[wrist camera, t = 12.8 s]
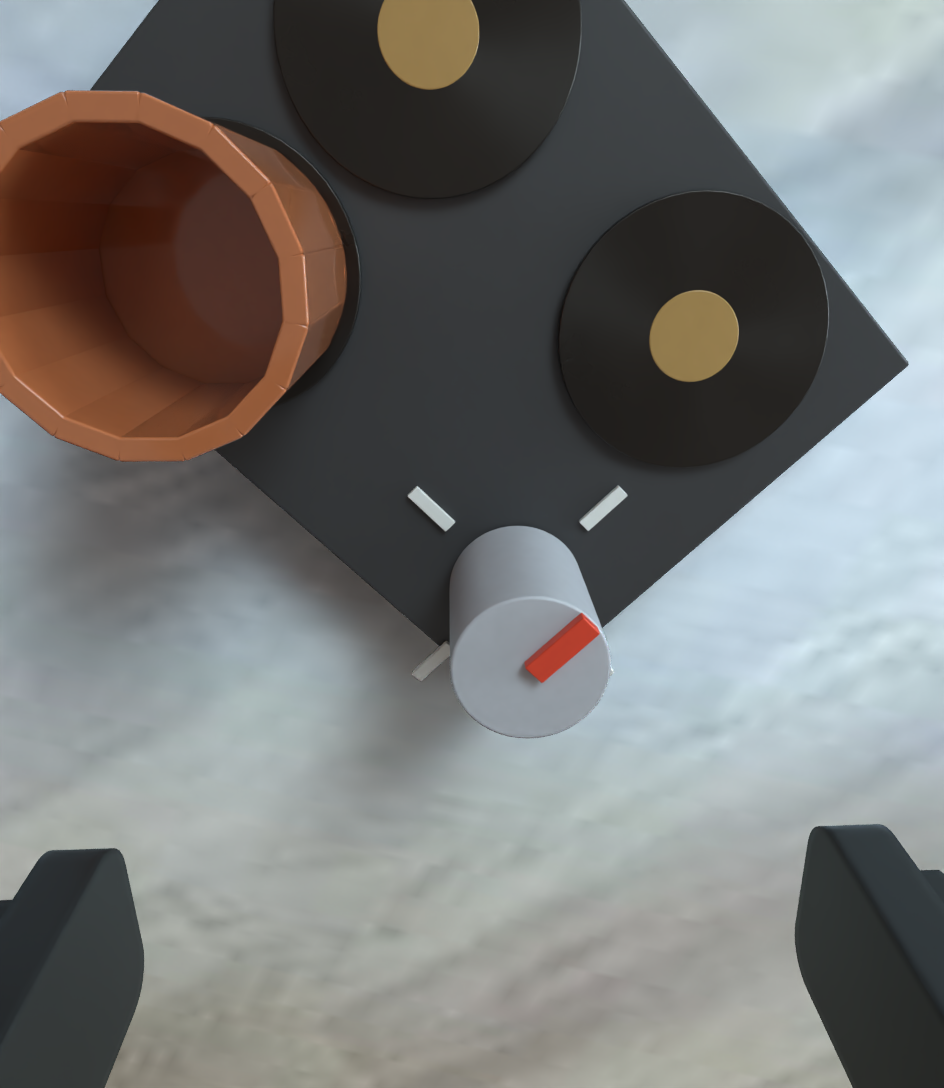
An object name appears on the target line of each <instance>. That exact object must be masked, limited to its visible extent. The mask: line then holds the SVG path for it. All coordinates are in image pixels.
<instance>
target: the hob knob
mask: <svg viewBox="0 0 944 1088" xmlns="http://www.w3.org/2000/svg"><path fill="white" fill-rule="evenodd" d="M449 597H450V678H451V683H452V687H453V690H454V693H455V695H456V697H457V699H458V701H459V703H460V704H461V706H462V707H463V708H464V710H465V711H466V712H467V713H468V714H469V715H470V716H471V717H472V718H473V719H474V720H475V721H477V722H478V723H480V724H481V725H482V726H484V727H486V728H488V729H489V730H492V731H494V732H496V733H499V734H502V735H506V736H510V737H516V738H539V737H545V736H550V735H553V734H556V733H559V732H562V731H564V730H566V729H568V728H570V727H572V726H574V725H575V724H577V723H578V722H580V721H581V720H582V719H584V718H585V717H586V716H587V715H588V714H589V713H590V712H591V711H592V710H593V709H594V708H595V706H596V705H597V704H598V702H599V701H600V699H601V698H602V696H603V694H604V692H605V690H606V688H607V685H608V681H609V678H610V672H611V656H610V649H609V646H608V643H607V640H606V637H605V635H604V632H603V629H602V627H601V624H600V622H599V619H598V616H597V614H596V611H595V608H594V606H593V603H592V601H591V598H590V595H589V593H588V590H587V587H586V585H585V582H584V580H583V577H582V574H581V572H580V569H579V566H578V564H577V562H576V560H575V558H574V556H573V554H572V553H571V551H570V550H569V549H568V548H567V547H566V546H565V544H564V543H562V542H561V541H560V540H559V539H558V538H556V537H554V536H553V535H551V534H549V533H547V532H545V531H543V530H540V529H537V528H533V527H527V526H507V527H502V528H498V529H495V530H492V531H489V532H487V533H485V534H483V535H481V536H480V537H478V538H477V539H475V540H474V541H473V542H472V543H470V544H469V545H468V546H467V547H466V548H465V549H464V550H463V552H462V553H461V555H460V556H459V557H458V559H457V561H456V563H455V565H454V567H453V570H452V573H451V578H450V588H449Z"/></svg>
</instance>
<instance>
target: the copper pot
mask: <svg viewBox="0 0 944 1088" xmlns="http://www.w3.org/2000/svg"><path fill="white" fill-rule="evenodd" d="M346 282H347V270H346V261H345V253H344V249H343V245H342V240H341V236H340V234H339V231H338V228H337V225H336V223H335V220H334V218H333V216H332V214H331V212H330V210H329V208H328V206H327V204H326V203H325V201H324V200H323V198H322V197H321V195H320V194H319V192H318V191H317V189H316V188H315V187H314V185H313V184H312V183H311V182H310V181H309V180H308V178H307V177H306V176H305V175H304V174H303V173H302V172H301V171H300V170H299V169H298V168H297V167H295V166H294V165H293V164H292V163H291V162H290V161H289V160H287V159H286V158H285V157H284V156H283V155H282V154H281V153H279V152H278V151H277V150H275V149H273V148H270V147H268V146H266V145H264V144H262V143H259V142H257V141H255V140H253V139H250V138H248V137H246V136H244V135H241V134H239V133H237V132H235V131H232V130H230V129H228V128H226V127H223V126H221V125H219V124H216V123H214V122H212V121H209V120H207V119H205V118H202V117H200V116H198V115H195V114H193V113H191V112H188V111H186V110H184V109H181V108H179V107H177V106H174V105H172V104H170V103H167V102H165V101H163V100H160V99H158V98H156V97H153V96H151V95H149V94H146V93H141V92H138V91H86V90H67V91H65V92H59V93H57V94H55V95H53V96H51V97H49V98H47V99H45V100H43V101H41V102H39V103H36V104H34V105H32V106H30V107H28V108H26V109H24V110H22V111H20V112H18V113H16V114H14V115H12V116H10V117H8V118H6V119H4V120H1V121H0V393H1V394H2V395H3V396H4V397H5V398H7V399H8V400H9V401H10V402H11V403H13V404H14V405H15V406H16V407H18V408H19V409H20V410H21V411H22V412H24V413H25V414H26V415H27V416H28V417H30V418H31V419H32V420H33V421H35V422H36V423H37V424H38V425H39V426H41V427H42V428H43V429H44V430H45V431H47V432H48V433H49V434H50V435H52V436H55V438H57V439H60V440H63V441H65V442H68V443H71V444H73V445H76V446H79V447H81V448H84V449H87V450H90V451H92V452H95V453H98V454H100V455H103V456H106V457H108V458H111V459H114V460H116V461H119V460H120V461H122V462H183V461H185V460H190V459H193V458H195V457H198V456H200V455H202V454H205V453H207V452H209V451H212V450H214V449H217V448H219V447H221V446H224V445H226V444H228V443H231V442H233V441H236V440H238V439H240V438H242V437H243V436H244V435H246V434H247V433H248V432H249V431H250V430H251V429H252V428H253V427H254V426H255V425H256V424H257V423H258V422H259V421H260V420H261V419H262V418H263V417H264V415H265V414H266V413H267V412H268V411H269V410H270V409H271V408H272V407H273V406H274V405H275V404H276V403H277V402H278V401H279V400H280V399H281V398H282V397H283V396H284V394H285V393H286V392H287V391H288V390H289V389H290V388H291V387H292V386H293V385H294V384H295V383H296V382H297V381H298V380H299V379H300V378H301V377H302V375H303V374H304V373H305V372H306V371H307V370H308V369H309V368H310V367H311V366H312V365H313V364H314V363H315V361H316V360H317V359H318V358H319V357H320V356H321V355H322V354H323V353H324V352H325V351H326V350H327V348H328V346H329V345H330V342H331V339H332V337H333V335H334V333H335V331H336V328H337V326H338V324H339V321H340V318H341V314H342V311H343V307H344V302H345V295H346Z"/></svg>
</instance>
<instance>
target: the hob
mask: <svg viewBox="0 0 944 1088" xmlns="http://www.w3.org/2000/svg"><path fill="white" fill-rule="evenodd" d="M580 3H581V11H582V38H581V47H580V57H579V62H578V66H577V71H576V76H575V80H574V83H573V86H572V89H571V91H570V94H569V97H568V100H567V102H566V104H565V106H564V109H563V111H562V113H561V115H560V117H559V119H558V121H557V122H556V124H555V125H554V127H553V129H552V130H551V132H550V133H549V135H548V136H547V138H546V139H545V140H544V141H543V143H542V144H541V145H540V146H539V147H538V149H537V150H536V151H535V152H534V153H533V154H532V155H531V156H530V157H529V158H528V159H527V160H526V161H525V162H524V163H523V164H522V165H521V166H520V167H518V168H517V169H516V170H514V171H513V172H511V173H510V174H509V175H507V176H506V177H504V178H503V179H501V180H499V181H497V182H496V183H494V184H492V185H490V186H488V187H486V188H484V189H481V190H478V191H475V192H473V193H470V194H467V195H462V196H457V197H452V198H443V199H420V198H410V197H406V196H401V195H397V194H393V193H390V192H387V191H384V190H382V189H379V188H376V187H374V186H372V185H370V184H368V183H367V182H365V181H363V180H361V179H359V178H357V177H356V176H354V175H353V174H352V173H350V172H349V171H347V170H346V169H345V168H343V167H342V166H340V165H339V164H338V163H337V162H336V161H335V160H334V159H333V158H332V157H331V156H330V155H328V154H327V153H326V152H325V151H324V149H323V148H322V147H321V146H320V145H319V144H318V142H317V141H316V140H315V139H314V138H313V136H312V135H311V134H310V132H309V131H308V129H307V128H306V126H305V125H304V123H303V122H302V120H301V119H300V117H299V115H298V113H297V111H296V109H295V107H294V105H293V103H292V101H291V99H290V97H289V94H288V91H287V89H286V86H285V83H284V81H283V78H282V75H281V70H280V66H279V62H278V58H277V54H276V46H275V38H274V24H273V6H274V0H159V1H158V2H157V3H156V5H155V6H154V7H153V8H152V10H151V11H150V12H149V14H148V15H147V16H146V18H145V19H144V20H143V22H142V23H141V24H140V25H139V27H138V28H137V29H136V31H135V32H134V33H133V35H132V36H131V37H130V39H129V40H128V41H127V42H126V44H125V45H124V46H123V48H122V49H121V50H120V52H119V53H118V54H117V56H116V57H115V58H114V59H113V61H112V62H111V63H110V65H109V66H108V67H107V69H106V70H105V71H104V73H103V74H102V75H101V76H100V78H99V79H98V80H97V82H96V83H95V84H94V86H93V87H92V88H91V90H90V91H138V92H141V93H146V94H149V95H151V96H153V97H156V98H158V99H160V100H163V101H165V102H167V103H170V104H172V105H174V106H177V107H179V108H181V109H184V110H186V111H188V112H191V113H193V114H195V115H198V116H200V117H217V118H226V119H230V120H235V121H239V122H244V123H246V124H249V125H252V126H254V127H257V128H260V129H262V130H264V131H266V132H268V133H270V134H272V135H274V136H276V137H278V138H280V139H281V140H283V141H285V142H286V143H287V144H289V145H290V146H292V147H293V148H295V149H296V150H297V151H299V152H300V153H301V154H302V155H303V156H304V157H306V158H307V159H308V160H309V161H310V162H311V163H312V164H313V165H314V166H315V167H316V168H317V169H318V170H319V171H320V173H321V174H322V175H323V176H324V177H325V178H326V180H327V181H328V182H329V183H330V185H331V186H332V188H333V189H334V191H335V192H336V194H337V196H338V197H339V199H340V200H341V202H342V204H343V206H344V208H345V210H346V212H347V214H348V216H349V219H350V222H351V224H352V227H353V230H354V233H355V235H356V240H357V244H358V248H359V253H360V260H361V270H362V292H361V299H360V306H359V312H358V315H357V319H356V322H355V326H354V329H353V331H352V334H351V336H350V338H349V340H348V343H347V345H346V347H345V348H344V350H343V351H342V353H341V355H340V356H339V358H338V360H337V361H336V362H335V363H334V365H333V366H332V367H331V368H330V369H329V371H328V372H327V373H326V374H325V375H324V376H323V377H322V378H321V379H320V380H319V381H318V382H317V383H316V384H315V385H313V386H312V387H311V388H309V389H308V390H306V391H305V392H304V393H302V394H301V395H299V396H297V397H295V398H293V399H292V400H290V401H288V402H286V403H284V404H281V405H278V406H275V407H272V408H271V409H270V410H269V411H268V412H267V413H266V414H265V415H264V417H263V418H262V419H261V420H260V421H259V422H258V423H257V424H256V425H255V426H254V427H253V428H252V429H251V430H250V431H249V432H248V433H247V434H246V435H244V436H243V437H242V438H240V439H238V440H236V441H233V442H231V443H228V444H226V445H224V446H221V447H219V448H217V449H215V450H216V451H217V452H218V453H219V454H220V455H221V456H223V457H224V458H225V459H226V460H227V461H228V462H229V463H231V464H232V465H233V466H234V467H235V468H236V469H237V470H239V471H240V472H241V473H242V474H243V475H244V476H245V477H247V478H248V479H249V480H250V481H251V482H252V483H253V484H255V485H256V486H257V487H258V488H259V489H260V490H261V491H263V492H264V493H265V494H266V495H267V496H268V497H269V498H271V499H272V500H273V501H274V502H275V503H276V504H277V505H279V506H280V507H281V508H282V509H283V510H284V511H286V512H287V513H288V514H289V515H290V516H291V517H292V518H294V519H295V520H296V521H297V522H298V523H299V524H300V525H302V526H303V527H304V528H305V529H306V530H307V531H308V532H310V533H311V534H312V535H313V536H314V537H315V538H316V539H318V540H319V541H320V542H321V543H322V544H323V545H324V546H326V547H327V548H328V549H329V550H330V551H331V552H332V553H334V554H335V555H336V556H337V557H338V558H339V559H340V560H342V561H343V562H344V563H345V564H346V565H347V566H348V567H350V568H351V569H352V570H353V571H354V572H355V573H356V574H358V575H359V576H360V577H361V578H362V579H363V580H364V581H366V582H367V583H368V584H369V585H370V586H371V587H372V588H374V589H375V590H376V591H377V592H378V593H379V594H380V595H382V596H383V597H384V598H385V599H386V600H387V601H388V602H390V603H391V604H392V605H393V606H394V607H395V608H396V609H398V610H399V611H400V612H401V613H402V614H403V615H404V616H406V617H407V618H408V619H409V620H410V621H411V622H413V623H414V624H415V625H416V626H417V627H418V628H419V629H421V630H422V631H423V632H424V633H425V634H426V635H427V636H429V637H430V638H431V639H432V640H433V641H434V642H435V643H437V644H438V645H439V646H440V647H438V648H437V649H436V650H435V651H434V652H433V653H432V654H431V655H430V656H429V657H427V658H426V659H425V660H424V661H423V662H422V663H421V664H420V665H419V666H418V667H416V668H415V669H414V670H413V671H412V675H413V676H414V677H416V678H417V679H418V680H419V681H420V682H421V681H422V680H423V679H424V678H425V677H426V676H428V675H429V674H430V673H431V672H432V671H433V670H434V669H435V668H436V667H438V666H439V665H440V664H441V663H442V662H443V661H444V660H445V659H447V658H448V657H449V656H450V597H449V588H450V578H451V573H452V570H453V567H454V565H455V563H456V561H457V559H458V557H459V556H460V555H461V553H462V552H463V550H464V549H465V548H466V547H467V546H468V545H469V544H470V543H472V542H473V541H474V540H475V539H477V538H478V537H480V536H481V535H483V534H485V533H487V532H489V531H492V530H495V529H498V528H502V527H507V526H527V527H533V528H537V529H540V530H543V531H545V532H547V533H549V534H551V535H553V536H554V537H556V538H558V539H559V540H560V541H561V542H562V543H564V544H565V546H566V547H567V548H568V549H569V550H570V551H571V553H572V554H573V556H574V558H575V560H576V562H577V564H578V566H579V569H580V572H581V574H582V577H583V580H584V582H585V585H586V587H587V590H588V593H589V595H590V598H591V601H592V603H593V606H594V608H595V611H596V614H597V616H598V619H599V622H600V624H601V627H602V628H603V627H604V626H605V625H606V624H607V623H608V622H610V621H611V620H612V619H613V618H614V617H615V616H617V615H618V614H619V613H620V612H621V611H622V610H624V609H625V608H626V607H627V606H628V605H629V604H631V603H632V602H633V601H634V600H635V599H636V598H638V597H639V596H640V595H641V594H642V593H643V592H645V591H646V590H647V589H648V588H649V587H650V586H652V585H653V584H654V583H655V582H656V581H657V580H659V579H660V578H661V577H662V576H663V575H664V574H666V573H667V572H668V571H669V570H670V569H671V568H673V567H674V566H675V565H676V564H677V563H678V562H680V561H681V560H682V559H683V558H684V557H685V556H687V555H688V554H689V553H690V552H691V551H692V550H694V549H695V548H696V547H697V546H698V545H699V544H701V543H702V542H703V541H704V540H705V539H706V538H708V537H709V536H710V535H711V534H712V533H713V532H715V531H716V530H717V529H718V528H719V527H720V526H722V525H723V524H724V523H725V522H726V521H727V520H729V519H730V518H731V517H732V516H733V515H734V514H736V513H737V512H738V511H739V510H740V509H741V508H743V507H744V506H745V505H746V504H747V503H748V502H750V501H751V500H752V499H753V498H754V497H755V496H757V495H758V494H759V493H760V492H761V491H762V490H764V489H765V488H766V487H767V486H768V485H769V484H771V483H772V482H773V481H774V480H775V479H776V478H778V477H779V476H780V475H781V474H782V473H783V472H785V471H786V470H787V469H788V468H789V467H790V466H792V465H793V464H794V463H795V462H796V461H797V460H799V459H800V458H801V457H802V456H803V455H804V454H806V453H807V452H808V451H809V450H810V449H811V448H813V447H814V446H815V445H816V444H817V443H818V442H820V441H821V440H822V439H823V438H824V437H825V436H827V435H828V434H829V433H830V432H831V431H832V430H834V429H835V428H836V427H837V426H838V425H839V424H841V423H842V422H843V421H844V420H845V419H846V418H848V417H849V416H850V415H851V414H852V413H853V412H855V411H856V410H857V409H858V408H859V407H860V406H862V405H863V404H864V403H865V402H866V401H867V400H869V399H870V398H871V397H872V396H873V395H874V394H876V393H877V392H878V391H879V390H880V389H881V388H883V387H884V386H885V385H886V384H887V383H888V382H890V381H891V380H892V379H893V378H894V377H895V376H897V375H898V374H899V373H900V372H901V371H902V370H904V369H905V368H906V367H907V366H908V365H909V364H908V361H907V360H906V359H905V358H904V356H903V355H902V354H901V352H900V351H899V350H898V349H897V347H896V346H895V345H894V344H893V342H892V341H891V340H890V338H889V337H888V336H887V335H886V333H885V332H884V331H883V330H882V328H881V327H880V326H879V324H878V323H877V322H876V321H875V319H874V318H873V317H872V316H871V314H870V313H869V312H868V310H867V309H866V308H865V307H864V305H863V304H862V303H861V302H860V300H859V299H858V298H857V296H856V295H855V294H854V293H853V291H852V290H851V289H850V287H849V286H848V285H847V284H846V282H845V281H844V280H843V279H842V277H841V276H840V275H839V273H838V272H837V271H836V270H835V268H834V267H833V266H832V265H831V263H830V262H829V261H828V259H827V258H826V257H825V256H824V254H823V253H822V252H821V251H820V249H819V248H818V247H817V245H816V244H815V243H814V242H813V240H812V239H811V238H810V236H809V235H808V234H807V233H806V231H805V230H804V229H803V228H802V226H801V225H800V224H799V222H798V221H797V220H796V219H795V217H794V216H793V215H792V214H791V212H790V211H789V210H788V208H787V207H786V206H785V205H784V203H783V202H782V201H781V200H780V198H779V197H778V196H777V194H776V193H775V192H774V191H773V189H772V188H771V187H770V186H769V184H768V183H767V182H766V180H765V179H764V178H763V177H762V175H761V174H760V173H759V171H758V170H757V169H756V168H755V166H754V165H753V164H752V163H751V161H750V160H749V159H748V157H747V156H746V155H745V154H744V152H743V151H742V150H741V149H740V147H739V146H738V145H737V143H736V142H735V141H734V140H733V138H732V137H731V136H730V135H729V133H728V132H727V131H726V129H725V128H724V127H723V126H722V124H721V123H720V122H719V120H718V119H717V118H716V117H715V115H714V114H713V113H712V112H711V110H710V109H709V108H708V106H707V105H706V104H705V103H704V101H703V100H702V99H701V98H700V96H699V95H698V94H697V92H696V91H695V90H694V89H693V87H692V86H691V85H690V84H689V82H688V81H687V80H686V78H685V77H684V76H683V75H682V73H681V72H680V71H679V69H678V68H677V67H676V66H675V64H674V63H673V62H672V61H671V59H670V58H669V57H668V55H667V54H666V53H665V52H664V50H663V49H662V48H661V47H660V45H659V44H658V43H657V41H656V40H655V39H654V38H653V36H652V35H651V34H650V33H649V31H648V30H647V29H646V27H645V26H644V25H643V24H642V22H641V21H640V20H639V19H638V17H637V16H636V15H635V13H634V12H633V11H632V10H631V8H630V7H629V6H628V4H627V3H626V2H625V1H624V0H580ZM696 190H718V191H728V192H732V193H737V194H741V195H745V196H747V197H750V198H752V199H755V200H757V201H760V202H762V203H764V204H765V205H767V206H769V207H771V208H772V209H774V210H776V211H777V212H778V213H780V214H781V215H782V216H783V217H785V218H786V219H787V220H788V221H790V222H791V223H792V224H793V226H794V227H795V228H796V229H797V230H798V231H799V232H800V233H801V234H802V235H803V237H804V238H805V240H806V241H807V243H808V244H809V246H810V247H811V249H812V250H813V253H814V255H815V257H816V259H817V261H818V263H819V265H820V268H821V271H822V274H823V277H824V280H825V284H826V290H827V296H828V304H829V325H828V336H827V341H826V346H825V351H824V355H823V358H822V361H821V364H820V367H819V370H818V372H817V374H816V377H815V379H814V381H813V383H812V385H811V387H810V389H809V390H808V392H807V394H806V395H805V397H804V398H803V400H802V401H801V403H800V404H799V406H798V407H797V408H796V409H795V411H794V412H793V413H792V414H791V416H790V417H789V418H788V419H787V420H786V421H785V422H784V423H783V424H782V425H781V426H780V427H779V428H778V429H777V430H776V431H775V432H773V433H772V434H771V435H769V436H768V437H767V438H766V439H764V440H763V441H762V442H760V443H758V444H757V445H755V446H753V447H752V448H750V449H749V450H747V451H745V452H743V453H741V454H738V455H736V456H734V457H732V458H729V459H726V460H723V461H720V462H717V463H713V464H708V465H703V466H698V467H683V468H678V467H663V466H658V465H653V464H648V463H645V462H642V461H639V460H636V459H633V458H631V457H629V456H627V455H625V454H623V453H621V452H619V451H617V450H616V449H614V448H613V447H611V446H610V445H609V444H607V443H606V442H604V441H603V440H602V439H601V438H600V437H599V436H598V435H597V434H596V433H594V432H593V431H592V429H591V428H590V427H589V426H588V425H587V423H586V422H585V421H584V420H583V419H582V417H581V416H580V414H579V413H578V411H577V409H576V408H575V406H574V405H573V403H572V401H571V399H570V396H569V394H568V392H567V390H566V387H565V384H564V381H563V378H562V374H561V371H560V365H559V358H558V342H557V334H558V324H559V316H560V312H561V307H562V303H563V299H564V296H565V294H566V291H567V288H568V285H569V283H570V280H571V278H572V277H573V275H574V273H575V271H576V269H577V267H578V265H579V263H580V262H581V260H582V259H583V257H584V256H585V255H586V253H587V252H588V250H589V249H590V247H591V246H592V245H593V244H594V243H595V242H596V241H597V240H598V238H599V237H600V236H601V235H602V234H603V233H604V232H605V231H606V230H607V229H609V228H610V227H611V226H612V225H613V224H614V223H615V222H616V221H618V220H619V219H621V218H622V217H624V216H625V215H627V214H628V213H629V212H631V211H632V210H634V209H636V208H638V207H640V206H642V205H644V204H646V203H648V202H650V201H653V200H656V199H658V198H661V197H664V196H667V195H671V194H676V193H681V192H685V191H696ZM613 673H614V670H613V669H612V668H611V672H610V676H611V675H612V674H613Z"/></svg>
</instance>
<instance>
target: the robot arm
mask: <svg viewBox="0 0 944 1088" xmlns="http://www.w3.org/2000/svg"><path fill="white" fill-rule="evenodd" d="M795 945H796V953H797V959H798V963H799V967H800V971H801V975H802V977H803V980H804V983H805V985H806V988H807V990H808V992H809V994H810V997H811V999H812V1001H813V1003H814V1005H815V1007H816V1009H817V1012H818V1014H819V1016H820V1018H821V1020H822V1022H823V1024H824V1027H825V1029H826V1031H827V1033H828V1035H829V1037H830V1040H831V1042H832V1044H833V1046H834V1048H835V1050H836V1052H837V1055H838V1057H839V1059H840V1061H841V1063H842V1065H843V1067H844V1070H845V1072H846V1074H847V1076H848V1078H849V1080H850V1082H851V1085H852V1087H853V1088H944V873H942V872H941V871H940V870H922V871H920V870H919V869H918V867H917V866H916V864H915V863H914V862H913V860H912V859H911V858H910V856H909V855H908V853H907V852H906V851H905V849H904V848H903V846H902V845H901V844H900V842H899V841H898V840H897V838H896V837H895V835H894V834H893V833H892V832H891V831H890V830H889V829H888V828H887V827H885V826H883V825H880V824H872V825H843V826H818V827H815V828H814V829H813V830H812V831H811V833H810V836H809V839H808V845H807V851H806V858H805V864H804V871H803V877H802V884H801V890H800V897H799V904H798V910H797V917H796V923H795ZM143 973H144V950H143V944H142V939H141V934H140V930H139V925H138V920H137V916H136V911H135V906H134V902H133V897H132V892H131V888H130V883H129V878H128V874H127V869H126V864H125V861H124V858H123V855H122V854H121V852H120V851H119V850H118V849H115V848H109V849H80V850H52V851H48V852H46V853H45V854H43V855H42V856H41V857H40V859H39V860H38V861H37V863H36V864H35V866H34V867H33V869H32V870H31V872H30V874H29V875H28V877H27V878H26V880H25V881H24V883H23V884H22V886H21V888H20V889H19V891H18V892H17V894H16V895H15V897H14V898H13V900H1V901H0V1088H105V1085H106V1083H107V1080H108V1078H109V1075H110V1073H111V1070H112V1068H113V1065H114V1063H115V1060H116V1058H117V1055H118V1052H119V1050H120V1047H121V1045H122V1042H123V1040H124V1037H125V1035H126V1032H127V1030H128V1027H129V1025H130V1022H131V1020H132V1017H133V1015H134V1012H135V1010H136V1007H137V1004H138V1000H139V997H140V992H141V988H142V982H143Z"/></svg>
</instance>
